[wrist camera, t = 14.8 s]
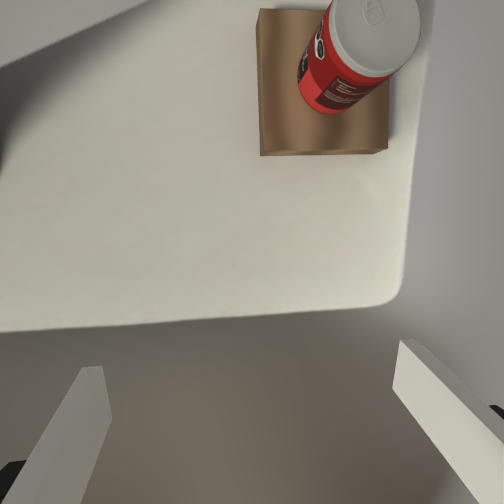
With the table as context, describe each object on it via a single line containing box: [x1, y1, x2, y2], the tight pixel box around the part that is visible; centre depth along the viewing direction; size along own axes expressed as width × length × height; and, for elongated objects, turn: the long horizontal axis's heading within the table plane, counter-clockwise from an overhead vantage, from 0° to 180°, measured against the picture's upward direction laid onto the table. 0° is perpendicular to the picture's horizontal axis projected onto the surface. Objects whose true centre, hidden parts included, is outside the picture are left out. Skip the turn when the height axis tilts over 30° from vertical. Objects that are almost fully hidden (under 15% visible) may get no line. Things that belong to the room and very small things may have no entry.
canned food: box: [297, 0, 421, 114], centre depth 30 cm, size 8×8×11 cm
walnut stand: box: [256, 8, 389, 156], centre depth 37 cm, size 15×15×4 cm
